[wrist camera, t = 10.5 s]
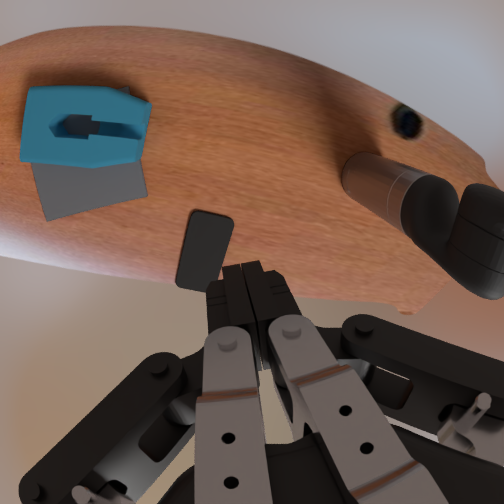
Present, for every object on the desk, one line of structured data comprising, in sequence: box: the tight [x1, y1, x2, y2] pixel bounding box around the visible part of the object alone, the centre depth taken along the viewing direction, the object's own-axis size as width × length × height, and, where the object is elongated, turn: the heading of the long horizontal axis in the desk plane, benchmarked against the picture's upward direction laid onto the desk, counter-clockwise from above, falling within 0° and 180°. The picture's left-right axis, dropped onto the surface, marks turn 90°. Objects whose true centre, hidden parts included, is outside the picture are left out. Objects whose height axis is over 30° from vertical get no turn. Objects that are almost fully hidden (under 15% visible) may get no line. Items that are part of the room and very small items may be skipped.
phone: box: [176, 211, 234, 293], centre depth 49 cm, size 7×1×15 cm
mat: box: [31, 86, 148, 222], centre depth 38 cm, size 20×18×1 cm
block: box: [20, 85, 152, 169], centre depth 33 cm, size 12×5×20 cm
